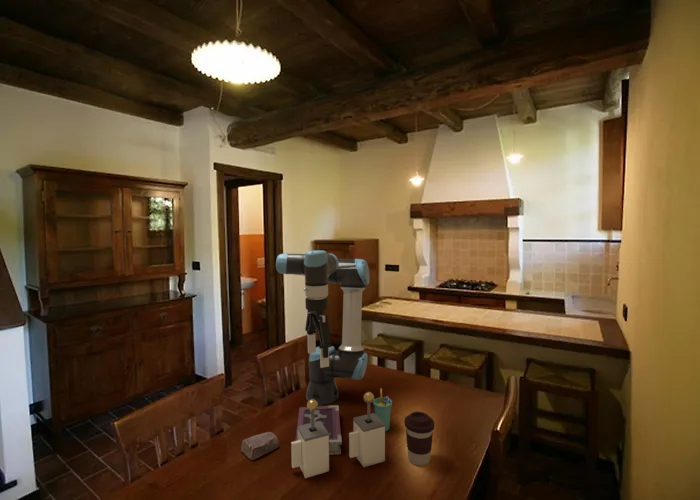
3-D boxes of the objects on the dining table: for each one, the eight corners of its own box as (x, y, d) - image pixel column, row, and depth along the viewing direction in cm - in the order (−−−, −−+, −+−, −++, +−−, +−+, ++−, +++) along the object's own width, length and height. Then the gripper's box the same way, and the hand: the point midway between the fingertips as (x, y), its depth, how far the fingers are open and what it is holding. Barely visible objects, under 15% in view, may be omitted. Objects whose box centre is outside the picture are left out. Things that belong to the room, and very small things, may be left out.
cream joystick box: (289, 465, 118) (288, 428, 117) (320, 456, 122) (320, 420, 122) (295, 481, 111) (294, 441, 110) (328, 471, 115) (328, 432, 114)
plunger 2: (360, 450, 123) (359, 390, 122) (371, 447, 125) (371, 388, 124) (365, 458, 119) (365, 396, 118) (378, 454, 121) (377, 394, 120)
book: (341, 455, 124) (341, 441, 124) (295, 457, 123) (294, 443, 122) (338, 416, 149) (338, 405, 149) (299, 418, 148) (299, 407, 148)
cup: (399, 437, 133) (399, 398, 133) (380, 440, 131) (380, 401, 131) (386, 418, 147) (386, 382, 146) (368, 421, 145) (368, 385, 144)
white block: (345, 455, 123) (345, 419, 122) (373, 447, 127) (373, 412, 127) (355, 470, 116) (354, 432, 115) (384, 460, 120) (384, 424, 119)
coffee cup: (428, 473, 114) (428, 427, 113) (399, 462, 119) (399, 419, 118) (438, 456, 122) (438, 413, 121) (411, 446, 128) (411, 406, 127)
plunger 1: (304, 460, 118) (303, 398, 117) (317, 456, 120) (316, 395, 119) (308, 468, 114) (307, 404, 113) (322, 464, 116) (321, 401, 115)
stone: (268, 437, 134) (268, 425, 134) (281, 448, 128) (281, 435, 128) (239, 451, 126) (239, 438, 126) (252, 463, 120) (252, 449, 119)
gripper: (295, 291, 128) (297, 348, 130) (317, 306, 105) (319, 375, 107) (315, 289, 131) (316, 345, 133) (341, 303, 108) (342, 371, 110)
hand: (317, 359), depth 120 cm, fingers open, 13 cm apart
